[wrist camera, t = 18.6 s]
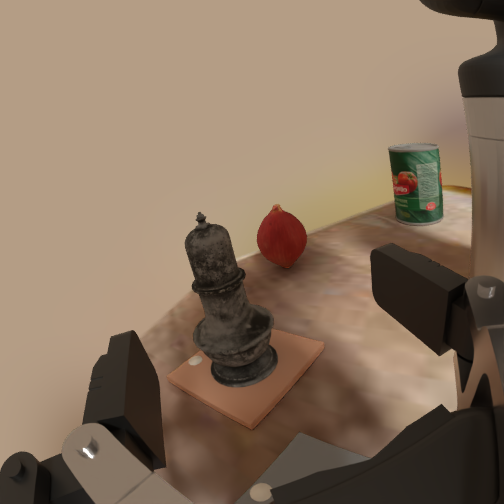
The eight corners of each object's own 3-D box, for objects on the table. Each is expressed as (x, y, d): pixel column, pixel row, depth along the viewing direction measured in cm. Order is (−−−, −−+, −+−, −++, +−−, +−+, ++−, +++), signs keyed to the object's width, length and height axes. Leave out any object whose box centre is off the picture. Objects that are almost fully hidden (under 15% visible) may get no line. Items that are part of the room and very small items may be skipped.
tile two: (240, 324, 30) (239, 318, 30) (324, 348, 24) (323, 342, 24) (169, 381, 24) (166, 376, 24) (252, 430, 18) (250, 424, 18)
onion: (255, 270, 40) (240, 208, 37) (290, 253, 43) (279, 195, 40) (282, 283, 36) (268, 214, 33) (320, 263, 38) (310, 199, 35)
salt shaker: (201, 354, 26) (152, 217, 21) (266, 331, 27) (232, 193, 23) (216, 401, 20) (153, 238, 16) (294, 371, 22) (260, 206, 17)
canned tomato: (451, 214, 43) (447, 143, 39) (427, 229, 40) (422, 150, 36) (412, 206, 49) (406, 142, 45) (385, 220, 46) (377, 149, 42)
